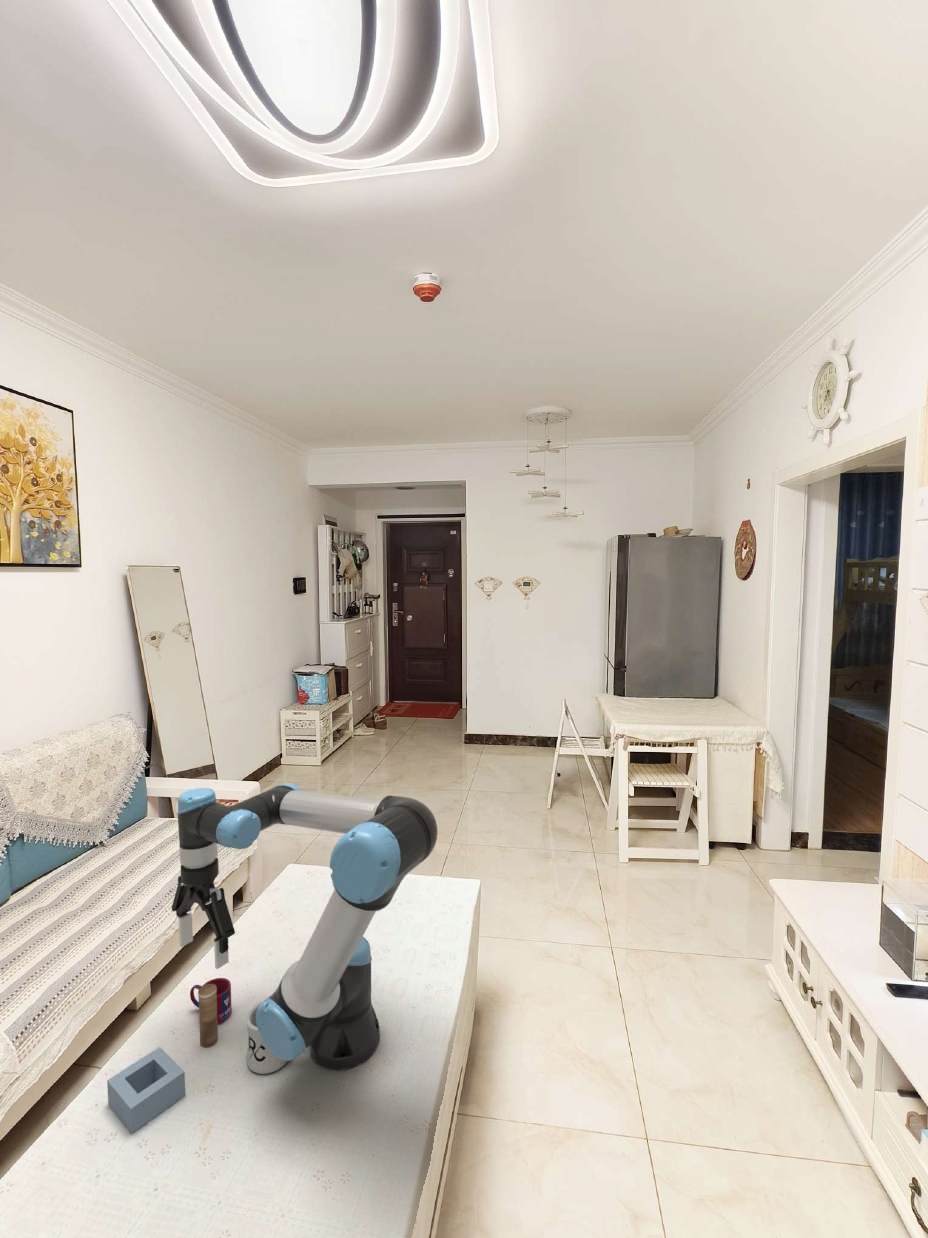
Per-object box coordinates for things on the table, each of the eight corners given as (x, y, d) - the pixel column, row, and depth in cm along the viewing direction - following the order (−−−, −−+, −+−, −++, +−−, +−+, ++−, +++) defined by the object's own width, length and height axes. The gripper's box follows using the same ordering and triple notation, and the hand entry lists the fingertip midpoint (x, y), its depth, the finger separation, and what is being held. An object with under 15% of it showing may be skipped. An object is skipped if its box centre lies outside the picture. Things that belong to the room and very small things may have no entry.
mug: (237, 1071, 120) (236, 1026, 120) (262, 1037, 129) (261, 995, 128) (291, 1084, 117) (290, 1037, 117) (313, 1048, 126) (312, 1005, 125)
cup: (216, 1030, 131) (215, 1001, 131) (182, 1017, 135) (181, 990, 134) (237, 1009, 137) (237, 982, 137) (205, 998, 141) (204, 971, 140)
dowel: (221, 1039, 128) (219, 988, 127) (205, 1050, 125) (203, 998, 125) (212, 1031, 131) (210, 981, 130) (196, 1042, 128) (194, 990, 127)
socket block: (185, 1095, 115) (184, 1072, 114) (131, 1134, 107) (130, 1109, 106) (160, 1069, 121) (159, 1047, 120) (108, 1104, 113) (107, 1080, 112)
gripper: (249, 869, 123) (253, 965, 124) (184, 840, 137) (188, 927, 138) (217, 884, 117) (221, 985, 118) (152, 853, 131) (156, 943, 132)
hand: (203, 954), depth 128 cm, fingers open, 13 cm apart
